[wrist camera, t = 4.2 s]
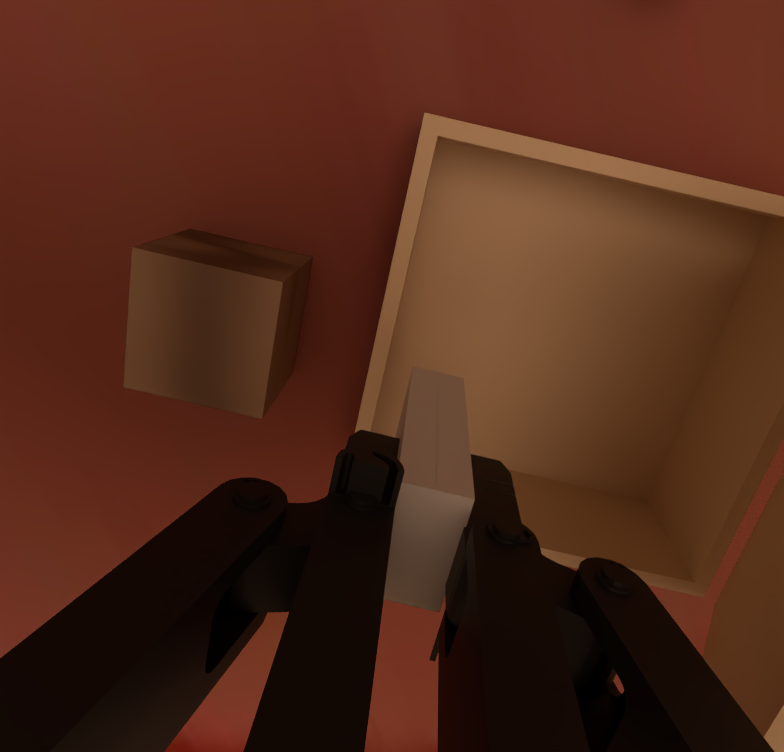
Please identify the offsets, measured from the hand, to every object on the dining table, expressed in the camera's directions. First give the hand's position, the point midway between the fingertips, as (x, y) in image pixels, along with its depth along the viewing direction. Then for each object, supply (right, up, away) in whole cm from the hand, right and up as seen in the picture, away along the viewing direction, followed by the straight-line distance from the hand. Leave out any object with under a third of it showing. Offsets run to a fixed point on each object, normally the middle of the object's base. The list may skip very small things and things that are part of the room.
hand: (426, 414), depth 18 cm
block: (-8, +5, +13) cm, 16 cm away
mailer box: (+7, +3, +12) cm, 14 cm away
